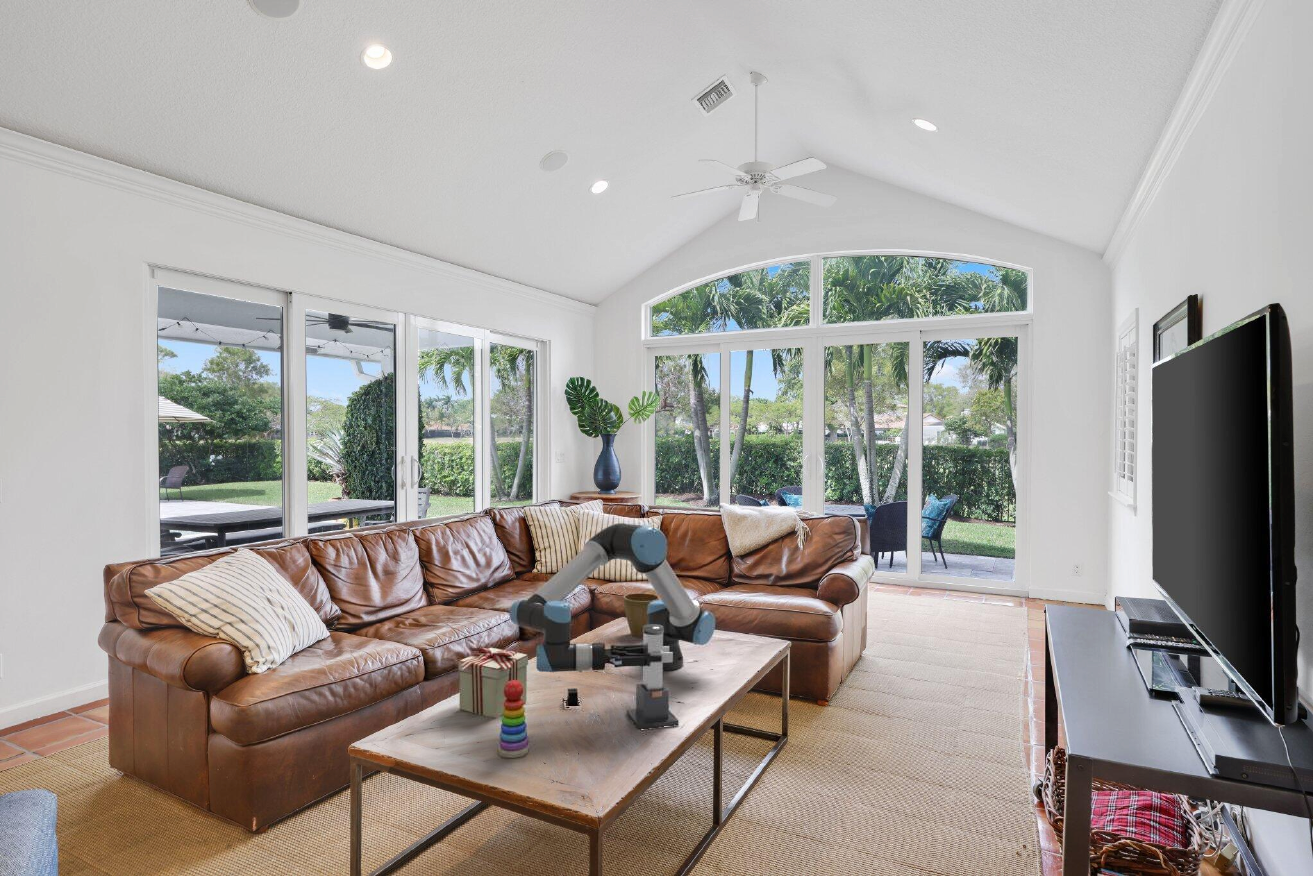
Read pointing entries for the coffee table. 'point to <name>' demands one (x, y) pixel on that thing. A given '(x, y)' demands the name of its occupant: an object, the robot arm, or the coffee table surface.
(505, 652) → the gift box
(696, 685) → the coffee table surface
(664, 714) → the stand base
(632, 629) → the plant pot
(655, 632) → the stand post
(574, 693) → the black rectangular block
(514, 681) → the stacking toy
